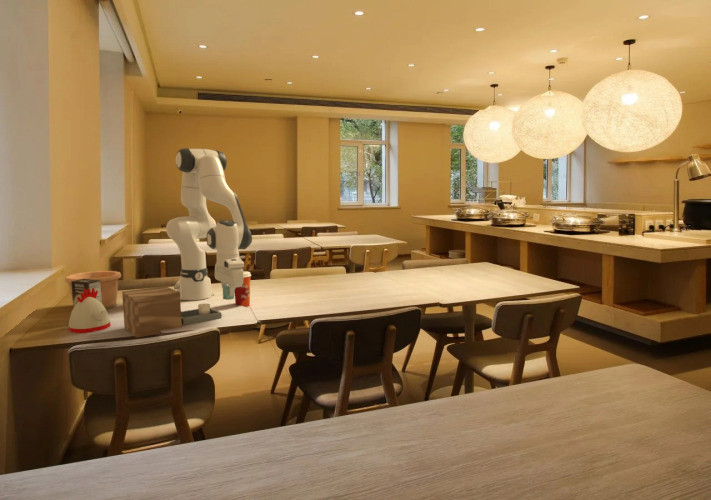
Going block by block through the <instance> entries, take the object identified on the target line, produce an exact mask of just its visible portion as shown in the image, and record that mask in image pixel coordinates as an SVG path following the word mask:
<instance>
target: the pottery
mask: <svg viewBox="0 0 711 500" xmlns="http://www.w3.org/2000/svg"><path fill="white" fill-rule="evenodd" d="M121 277H122V274H121V272H120V271H116V270H114V271H113V270H93V271H84V272H78V273H72V274H69V275H66V276H65V278H64V281H65V283H67V284H68V287H69V291H70V295H71V299H72V301H73V297H72V283H71V281H75V280H80V279H94V280H100V282H101V297H102V305H103V306H104V307H105V309H106V310H107V309H112V308H114V307H116V306H117V302H118V301H117V300H118V290H119V279H121Z"/></svg>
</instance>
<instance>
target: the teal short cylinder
mask: <svg viewBox="0 0 711 500" xmlns="http://www.w3.org/2000/svg"><path fill="white" fill-rule="evenodd" d="M229 290H230V288H229V285H228V284H227V285H225V286H223V288H222V299H223V300H235V295H234V296H230V295H229Z"/></svg>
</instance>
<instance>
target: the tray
mask: <svg viewBox="0 0 711 500" xmlns="http://www.w3.org/2000/svg"><path fill="white" fill-rule="evenodd" d="M219 319H222V312H220V311H218V310H216V309H214V308H213V307H210V314H208V315H202V316H199V312H198V308H195V309H189V310H188V309H187V310H185V311H184V310H183V311H182V310H181V323H182V326H186V325H193V324H197V323H202V322H208V321H209V322H210V321H215V320H219Z"/></svg>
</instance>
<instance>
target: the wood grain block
mask: <svg viewBox="0 0 711 500" xmlns="http://www.w3.org/2000/svg"><path fill="white" fill-rule="evenodd" d="M121 294H122V295H121V297H122V310H123V322H124V324H123V325H124V327H123V328H124V330H126V331H127V332H129V333H130V334H131V335H132V336H134V337H135V338H137V339H138V338H144V337H149V336H153V335H160V334H163V332H162V331H167V330H173V329H178V328H182V326H183V324H182V323H181V312H182V309H181V307H182V306H181V300H180V292H177V291H176V289H174V288H171V287H169V286H167V285H164V286H163V285H161V286H155V287H147V288H139V289H138V288H137V289H133V290H123V291H121Z"/></svg>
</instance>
